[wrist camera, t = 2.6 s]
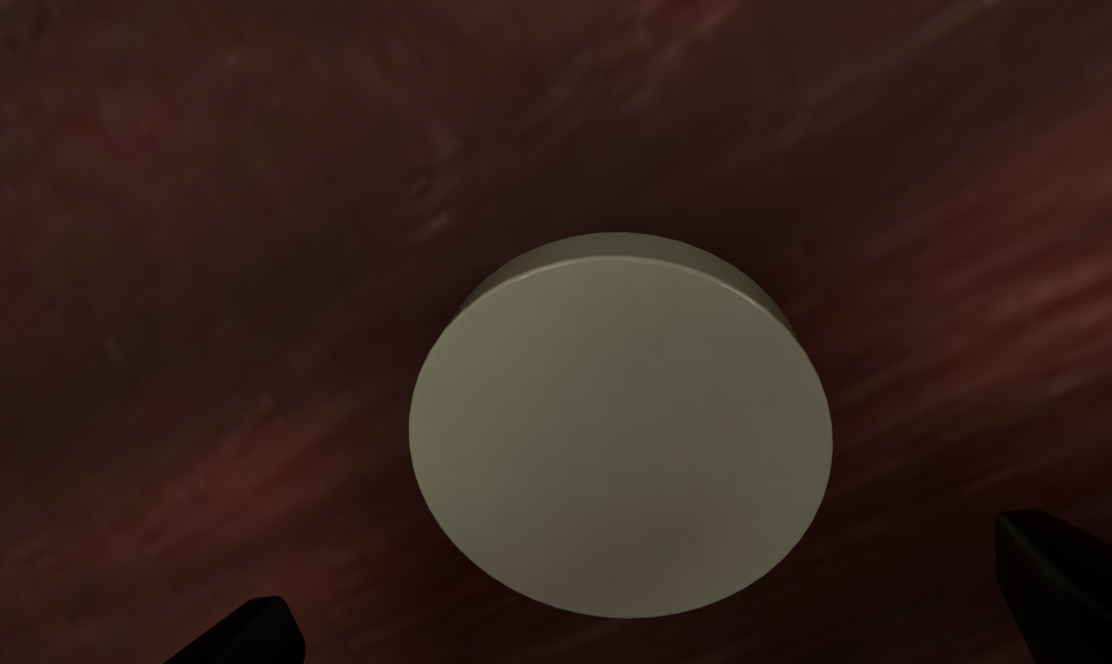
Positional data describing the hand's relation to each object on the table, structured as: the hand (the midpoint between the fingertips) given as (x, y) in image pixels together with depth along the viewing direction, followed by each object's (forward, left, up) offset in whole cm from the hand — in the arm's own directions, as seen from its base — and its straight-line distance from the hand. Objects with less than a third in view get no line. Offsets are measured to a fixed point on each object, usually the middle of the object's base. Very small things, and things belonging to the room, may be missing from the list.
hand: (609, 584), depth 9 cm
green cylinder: (0, 0, -5) cm, 5 cm away
